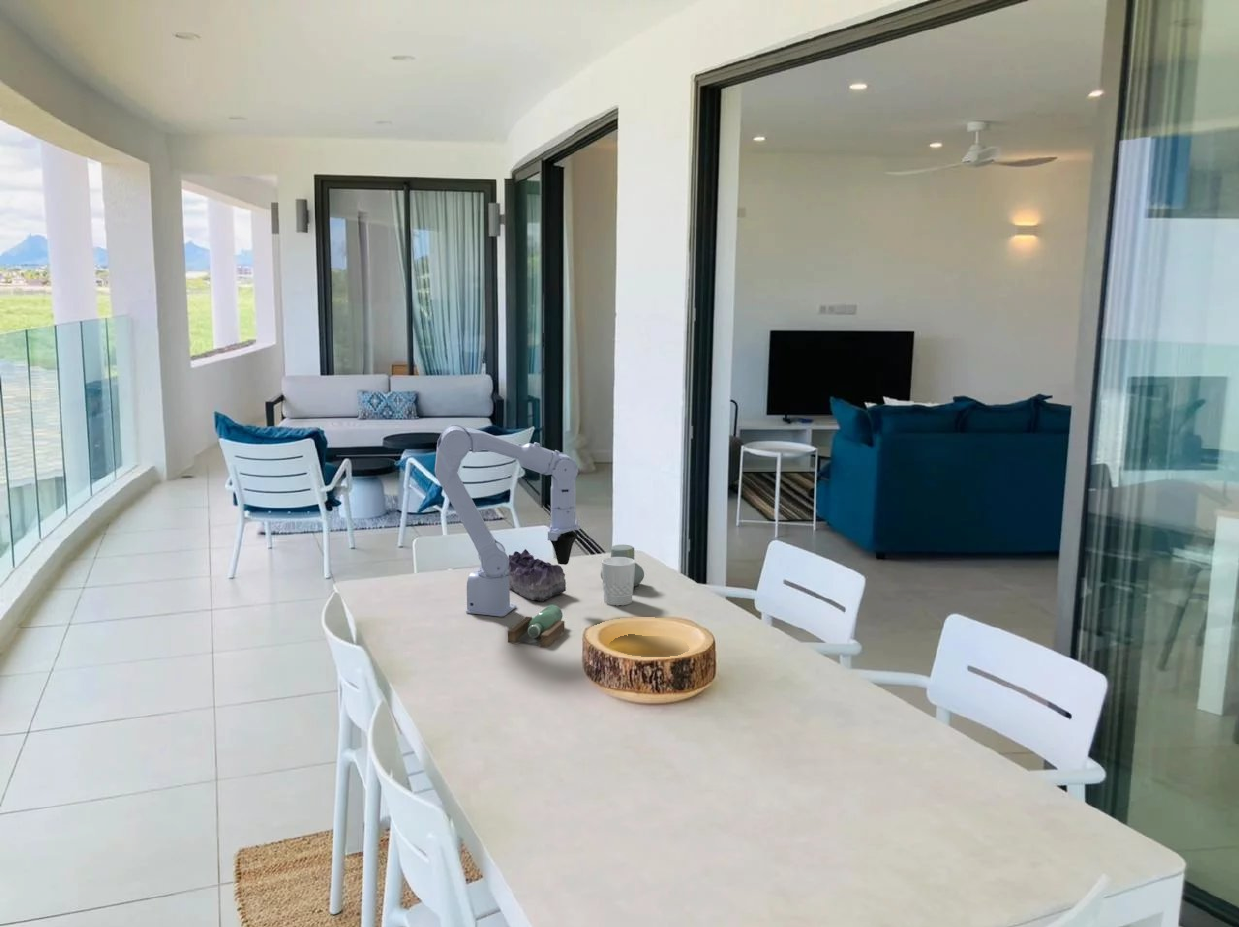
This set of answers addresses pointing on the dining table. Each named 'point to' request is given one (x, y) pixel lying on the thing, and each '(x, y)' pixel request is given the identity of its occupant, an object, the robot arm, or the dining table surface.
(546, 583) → the geode
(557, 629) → the cradle
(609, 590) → the white cup
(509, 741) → the dining table surface
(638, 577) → the air freshener
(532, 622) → the bottle
